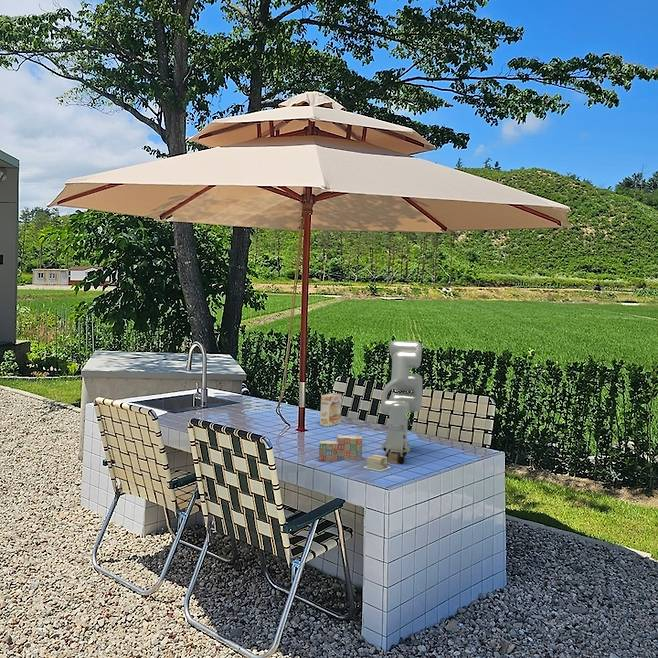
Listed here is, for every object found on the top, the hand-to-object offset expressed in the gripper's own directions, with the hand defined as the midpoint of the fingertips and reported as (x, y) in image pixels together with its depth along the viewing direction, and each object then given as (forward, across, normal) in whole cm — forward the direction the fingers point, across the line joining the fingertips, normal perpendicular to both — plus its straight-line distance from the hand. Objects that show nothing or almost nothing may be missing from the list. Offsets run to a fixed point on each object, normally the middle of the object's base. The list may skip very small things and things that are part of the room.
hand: (394, 462), depth 344 cm
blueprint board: (+1, +1, +15) cm, 15 cm away
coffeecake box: (+1, +83, -58) cm, 101 cm away
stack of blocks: (+1, +25, +12) cm, 28 cm away
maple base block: (0, +1, +15) cm, 15 cm away
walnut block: (+1, 0, 0) cm, 1 cm away
